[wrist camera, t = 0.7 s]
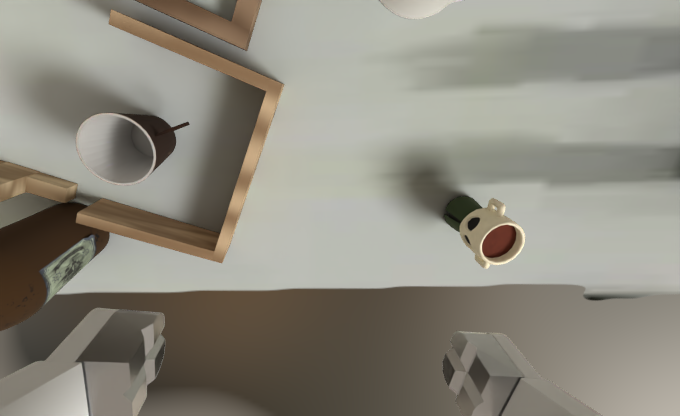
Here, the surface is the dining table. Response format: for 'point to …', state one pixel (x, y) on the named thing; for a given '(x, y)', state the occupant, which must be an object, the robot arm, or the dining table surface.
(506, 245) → the character mug
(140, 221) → the frame
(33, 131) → the dining table surface
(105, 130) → the coffee mug
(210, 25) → the brown rectangular open frame
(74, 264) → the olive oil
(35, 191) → the tan blocky wooden part
